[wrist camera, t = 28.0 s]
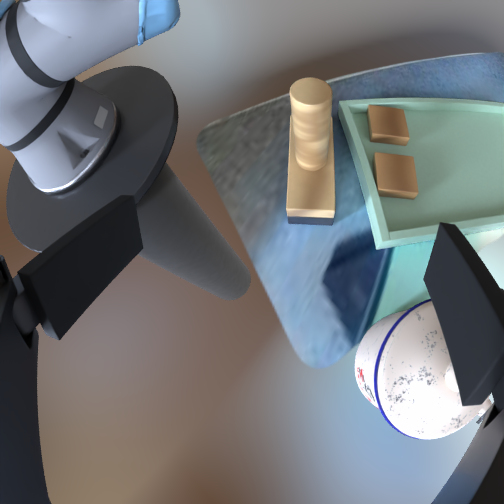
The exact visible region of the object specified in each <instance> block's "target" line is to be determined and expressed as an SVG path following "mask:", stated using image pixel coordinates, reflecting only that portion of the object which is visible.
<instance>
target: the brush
mask: <svg viewBox="0 0 504 504" xmlns="http://www.w3.org/2000/svg"><path fill="white" fill-rule="evenodd" d="M290 99H291V110H292V115H291V116H290V141H289V165H288V185H287V204H286V210H287V217H288V223H289V224H310V225H332V224H333V219H334V214H335V166H334V142H333V125H332V117H331V109H332V89H331V87H330V86H329V84H327V83H326V82H325V81H323V80H320V79H317V78H303V79H300V80H297V81H296V82H294V83H293V85H292V86H291V88H290Z"/></svg>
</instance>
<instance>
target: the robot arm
mask: <svg viewBox="0 0 504 504" xmlns="http://www.w3.org/2000/svg"><path fill="white" fill-rule="evenodd" d="M179 17H180V8H179V3H178V0H19V1H18V2H17V3H16V1H15V0H2V1H1V2H0V144H2V145H3V146H4V147H5V148H7V149H8V150H10V151H11V152H12V153H13V154H14V155H15V157H16V158H17V160H18V161H19V163H20V164H21V166H22V167H23V169H24V170H25V171H26V173H27V175H28V177H29V179H30V181H31V182H32V183H33V185H34V186H35V187H36V188H38V189H39V190H41V191H42V192H44V193H46V194H48V195H61V194H65V193H67V192H69V191H71V190H73V189H75V188H76V187H78V186H79V185H81V184H82V183H83V182H85V181H86V180H87V179H88V178H89V177H90V176H91V175H92V174H93V173H94V172H95V171H96V170H97V169H98V168H99V167H100V165H101V164H102V163H103V162H104V160H105V159H106V157H107V156H108V154H109V153H110V151H111V149H112V148H113V146H114V144H115V142H116V139H117V137H118V133H119V130H120V124H121V117H120V112H119V110H118V108H117V107H116V105H115V104H114V103H113V102H112V100H111V99H110V98H109V97H107V96H106V95H104V94H102V93H99V92H97V91H95V90H93V89H92V88H90V87H88V86H87V85H85V84H83V83H81V82H79V81H78V80H76V79H75V78H74V77H75V76H77V75H79V74H80V73H82V72H84V71H86V70H87V69H89V68H91V67H93V66H95V65H96V64H98V63H100V62H102V61H104V60H106V59H108V58H110V57H112V56H114V55H116V54H118V53H120V52H122V51H124V50H126V49H128V48H130V47H133V46H134V45H138V46H140V45H141V44H143V42H144V41H146V40H148V39H150V38H152V37H154V36H157V35H159V34H161V33H164V32H165V31H168V30H170V29H171V28H173V27H174V26H175V25H176V23H177V22H178V20H179ZM142 249H143V244H142V239H141V233H140V228H139V222H138V216H137V210H136V204H135V198H134V195H120V196H119V197H117V198H116V199H114V200H112V201H111V202H109V203H108V204H107V205H105V206H104V207H102V208H101V209H99V210H98V211H96V212H95V213H93V214H92V215H90V216H89V217H88V218H86V219H85V220H83V221H82V222H81V223H79V224H78V225H76V226H75V227H74V228H72V229H71V230H70V231H68V232H67V233H66V234H64V235H63V236H62V237H60V238H59V239H58V240H56V241H55V242H54V243H52V244H51V245H50V246H49V247H47V248H46V249H45V250H43V251H42V252H41V253H40V254H38V255H37V256H36V257H35V258H34V259H32V260H31V261H30V262H29V263H27V264H26V265H25V266H24V267H23V268H21V269H20V270H19V271H18V272H17V273H18V274H17V275H16V276H15V277H14V278H13V279H12V277H11V274H10V272H9V269H8V267H7V264H6V262H5V259H4V257H3V256H2V255H0V504H51V502H50V500H49V497H48V492H47V487H46V482H45V476H44V470H43V463H42V455H41V446H40V436H39V424H38V405H37V359H38V357H37V356H38V340H39V335H38V331H37V330H36V328H35V327H36V326H37V325H38V324H39V323H41V325H42V328H43V329H44V331H45V333H46V335H48V336H50V337H52V338H55V339H57V340H60V339H61V338H62V337H63V336H64V335H65V333H66V332H67V331H68V330H69V329H70V328H71V326H72V325H73V324H74V323H75V322H76V321H77V319H78V318H79V317H80V316H81V315H82V314H83V313H84V311H85V310H86V309H87V308H88V307H89V306H90V305H91V304H92V302H93V301H94V300H95V299H96V298H97V297H98V296H99V295H100V294H101V292H102V291H103V290H104V289H105V288H106V287H107V286H108V285H109V284H110V283H111V281H112V280H113V279H114V278H115V277H116V276H117V275H118V274H119V273H120V272H121V271H122V270H123V269H124V267H126V266H127V265H128V264H129V262H130V261H131V260H132V259H133V258H134V257H135V256H136V255H137V254H138V253H139V252H140V251H141V250H142ZM424 282H425V284H426V287H427V289H428V292H429V295H430V297H431V300H432V303H433V306H434V309H435V311H436V314H437V317H438V320H439V323H440V326H441V329H442V332H443V335H444V339H445V342H446V345H447V348H448V352H449V355H450V359H451V362H452V366H453V370H454V373H455V377H456V381H457V385H458V389H459V394H460V398H461V402H462V406H473V405H482V404H483V402H484V401H485V400H486V399H487V398H488V396H489V395H490V394H491V393H492V395H493V398H494V403H493V404H492V405H491V406H490V407H489V408H488V410H487V411H486V412H485V413H484V414H483V415H482V416H481V417H480V418H479V420H478V421H477V422H476V423H478V424H479V423H480V422H481V421H482V420H483V421H482V423H481V425H480V427H479V429H478V431H477V433H476V435H475V437H474V438H473V440H472V442H471V444H470V446H469V448H468V449H467V451H466V453H465V454H464V456H463V458H462V459H461V461H460V463H459V464H458V466H457V467H456V469H455V471H454V472H453V474H452V475H451V477H450V478H449V480H448V481H447V483H446V484H445V485H444V487H443V488H442V490H441V491H440V493H439V494H438V495H437V497H436V498H435V499H434V501H433V502H432V503H431V504H504V290H503V289H500V288H499V286H498V284H497V283H496V281H495V280H494V278H493V276H492V275H491V273H490V272H489V271H488V269H487V267H486V266H485V264H484V263H483V261H482V260H481V259H480V257H479V256H478V254H477V253H476V251H475V250H474V249H473V247H472V246H471V244H470V243H469V242H468V240H467V239H466V238H465V236H464V235H463V234H462V232H461V231H460V230H459V228H458V227H457V226H456V225H455V224H450V223H443V222H440V223H439V227H438V231H437V235H436V239H435V242H434V246H433V249H432V253H431V256H430V260H429V263H428V266H427V269H426V272H425V276H424Z"/></svg>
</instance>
